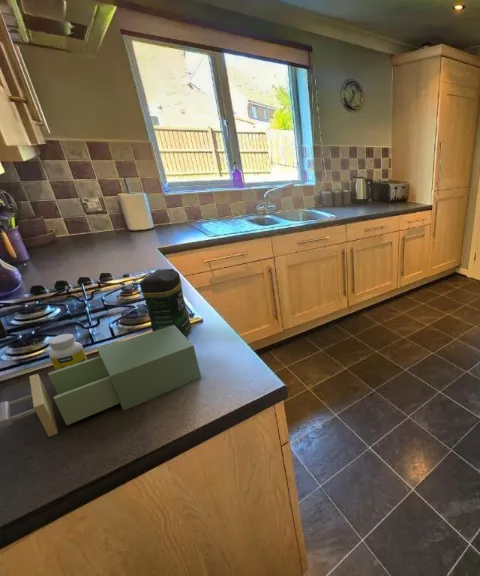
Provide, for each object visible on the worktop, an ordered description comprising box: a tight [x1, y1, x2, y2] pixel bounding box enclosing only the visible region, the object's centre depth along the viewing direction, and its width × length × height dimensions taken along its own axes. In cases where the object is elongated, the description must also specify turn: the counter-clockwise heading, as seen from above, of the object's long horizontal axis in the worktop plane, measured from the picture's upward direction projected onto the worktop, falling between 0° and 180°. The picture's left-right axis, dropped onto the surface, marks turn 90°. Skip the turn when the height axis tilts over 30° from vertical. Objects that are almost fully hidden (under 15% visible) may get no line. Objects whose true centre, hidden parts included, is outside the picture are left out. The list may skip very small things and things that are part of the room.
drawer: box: [0, 355, 120, 437], centre depth 63 cm, size 18×11×7 cm, turn 137°
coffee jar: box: [139, 268, 192, 338], centre depth 87 cm, size 10×8×19 cm
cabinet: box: [97, 325, 202, 411], centre depth 72 cm, size 15×13×9 cm
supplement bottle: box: [48, 333, 88, 371], centre depth 72 cm, size 5×5×10 cm
